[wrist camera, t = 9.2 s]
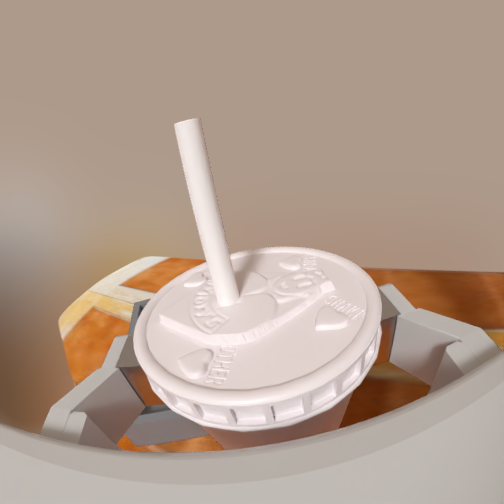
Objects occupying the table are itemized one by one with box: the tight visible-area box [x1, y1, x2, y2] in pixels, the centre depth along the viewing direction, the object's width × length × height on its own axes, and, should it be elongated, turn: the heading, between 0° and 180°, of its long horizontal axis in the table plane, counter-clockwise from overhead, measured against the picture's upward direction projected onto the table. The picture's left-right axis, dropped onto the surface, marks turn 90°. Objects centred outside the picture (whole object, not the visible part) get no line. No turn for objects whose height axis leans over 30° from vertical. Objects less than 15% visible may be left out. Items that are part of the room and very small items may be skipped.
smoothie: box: [133, 118, 382, 450], centre depth 8 cm, size 6×6×14 cm
